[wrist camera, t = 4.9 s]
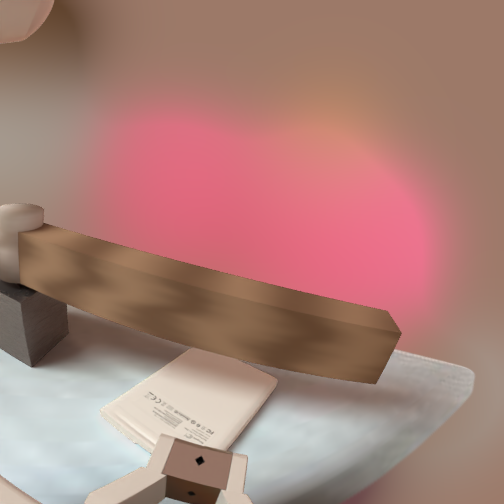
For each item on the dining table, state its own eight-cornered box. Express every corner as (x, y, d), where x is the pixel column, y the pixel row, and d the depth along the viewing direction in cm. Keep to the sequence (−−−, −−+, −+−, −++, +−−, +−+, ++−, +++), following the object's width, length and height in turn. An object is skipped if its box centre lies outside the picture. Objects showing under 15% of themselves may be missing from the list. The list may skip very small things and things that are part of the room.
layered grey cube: (-13, 339, 19) (-25, 278, 17) (25, 312, 24) (20, 256, 23) (31, 367, 18) (20, 302, 17) (68, 333, 24) (65, 274, 22)
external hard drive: (274, 391, 25) (195, 489, 14) (197, 352, 28) (100, 420, 17) (279, 378, 25) (198, 478, 14) (199, 339, 28) (98, 405, 17)
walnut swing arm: (-14, 272, 17) (-17, 210, 16) (19, 256, 22) (20, 201, 20) (378, 391, 17) (412, 324, 15) (364, 353, 21) (389, 293, 20)
